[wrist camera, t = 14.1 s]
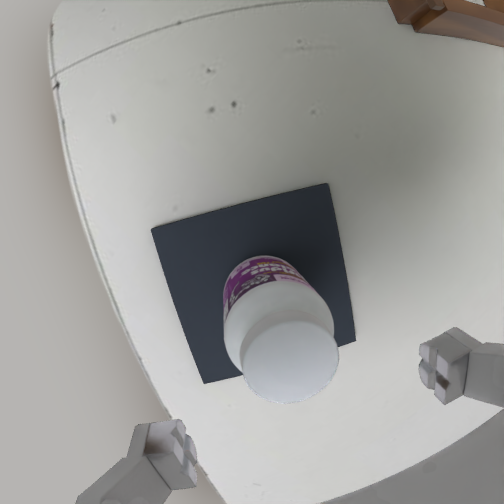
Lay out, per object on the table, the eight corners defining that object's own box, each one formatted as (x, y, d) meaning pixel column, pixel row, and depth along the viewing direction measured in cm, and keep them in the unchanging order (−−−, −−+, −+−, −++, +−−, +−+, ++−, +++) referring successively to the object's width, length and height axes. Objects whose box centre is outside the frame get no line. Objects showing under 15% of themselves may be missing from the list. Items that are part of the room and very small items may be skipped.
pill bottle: (295, 246, 21) (353, 289, 12) (306, 319, 22) (358, 397, 13) (214, 262, 21) (211, 320, 11) (230, 335, 22) (239, 427, 12)
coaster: (152, 228, 20) (150, 229, 20) (325, 183, 21) (328, 183, 20) (204, 380, 23) (203, 384, 22) (353, 338, 23) (356, 341, 23)
